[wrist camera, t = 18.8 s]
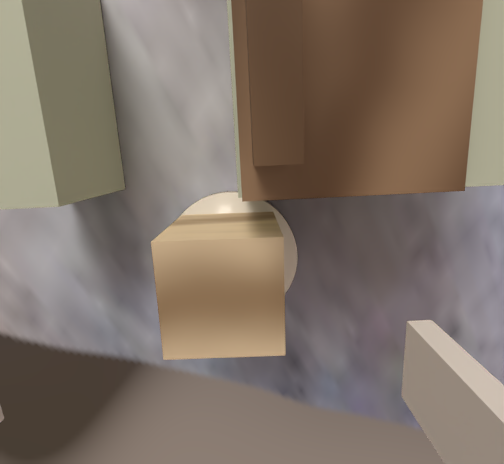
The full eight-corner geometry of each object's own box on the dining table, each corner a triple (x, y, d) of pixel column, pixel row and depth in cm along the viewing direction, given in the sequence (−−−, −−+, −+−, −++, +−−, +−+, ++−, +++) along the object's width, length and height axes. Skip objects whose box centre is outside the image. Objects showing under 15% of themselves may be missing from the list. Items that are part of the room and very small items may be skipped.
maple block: (182, 214, 22) (151, 241, 15) (273, 211, 22) (283, 237, 15) (189, 299, 23) (163, 359, 16) (275, 296, 23) (285, 355, 16)
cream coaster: (175, 314, 25) (172, 322, 23) (162, 194, 23) (157, 196, 21) (296, 309, 25) (298, 316, 23) (293, 188, 23) (296, 189, 21)
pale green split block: (67, 191, 22) (-31, 210, 15) (32, -8, 20) (-110, -115, 12) (419, 174, 22) (509, 184, 15) (432, -29, 20) (552, -151, 12)
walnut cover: (242, 198, 14) (238, 220, 9) (224, -141, 12) (205, -354, 7) (449, 188, 14) (553, 205, 9) (479, -154, 12) (646, -380, 7)
